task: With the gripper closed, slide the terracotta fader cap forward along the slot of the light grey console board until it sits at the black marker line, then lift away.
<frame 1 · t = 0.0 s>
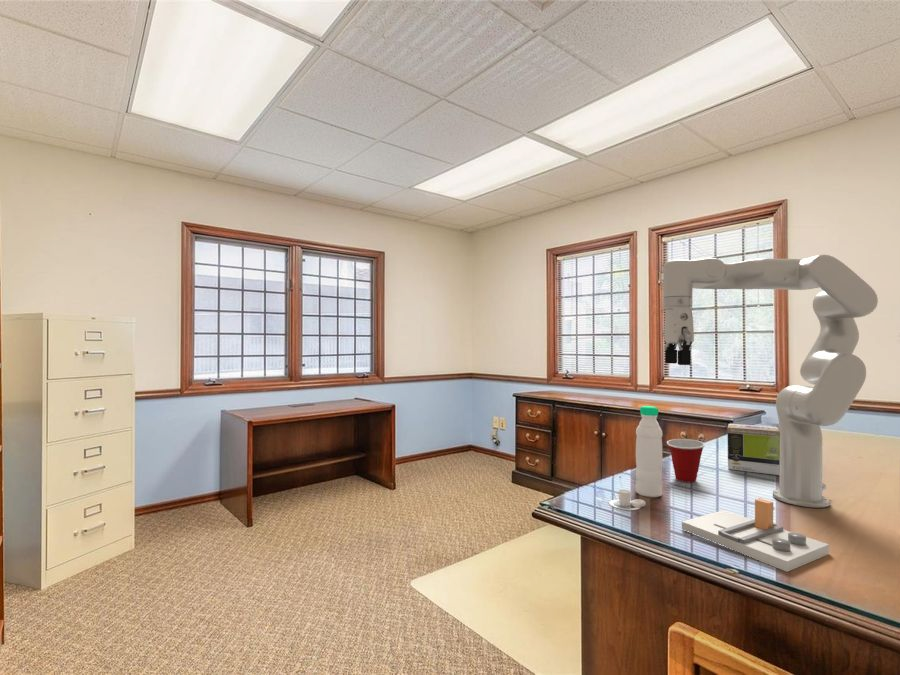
hand: (677, 364, 133), 37 cm above the table, tool pointing down, fingers open, 9 cm apart
plastic cup: (685, 480, 148), on the table
console: (751, 541, 103), on the table
tea box: (753, 470, 161), on the table
fader: (764, 514, 105), point 5 cm above the table, slide at -5.0 cm
water bottle: (648, 494, 134), on the table
teacup and saucer: (631, 511, 122), on the table
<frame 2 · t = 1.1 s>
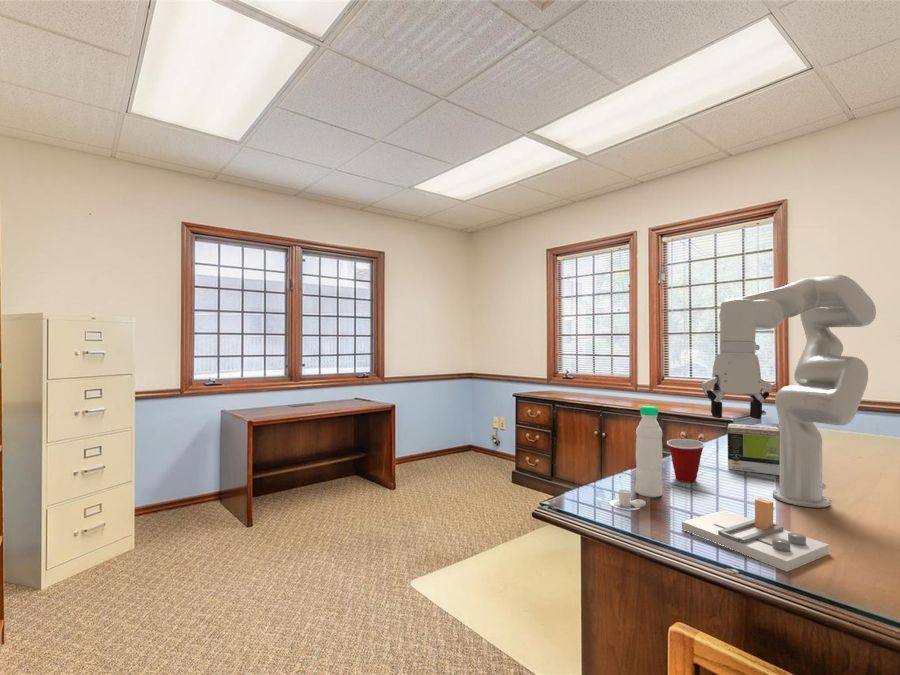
hand: (736, 417, 116), 25 cm above the table, tool pointing down, fingers open, 9 cm apart
nothing on the table moved.
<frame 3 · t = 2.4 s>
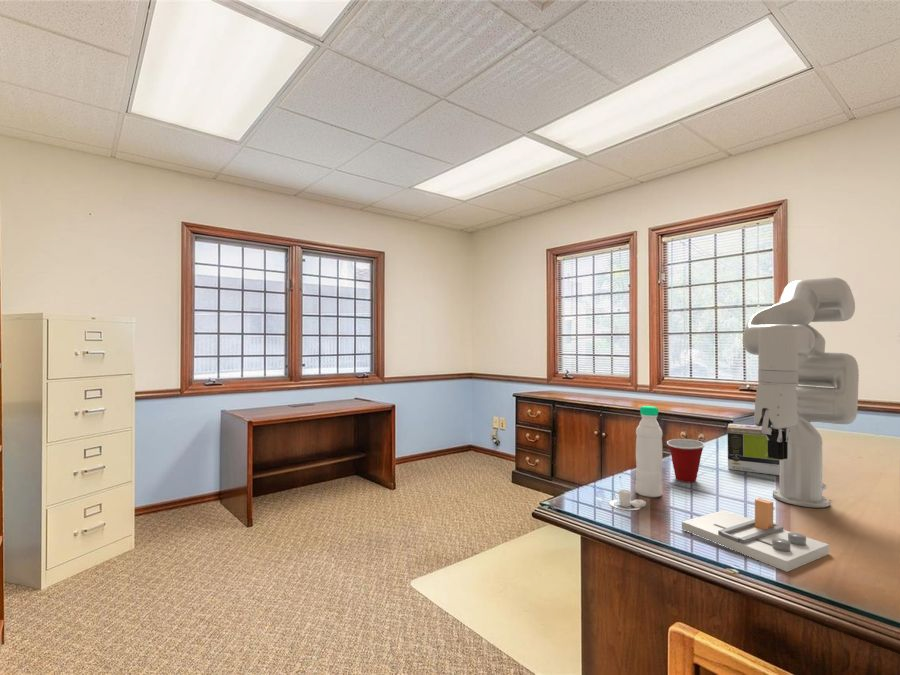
hand: (777, 457, 108), 17 cm above the table, tool pointing down, fingers closed
nothing on the table moved.
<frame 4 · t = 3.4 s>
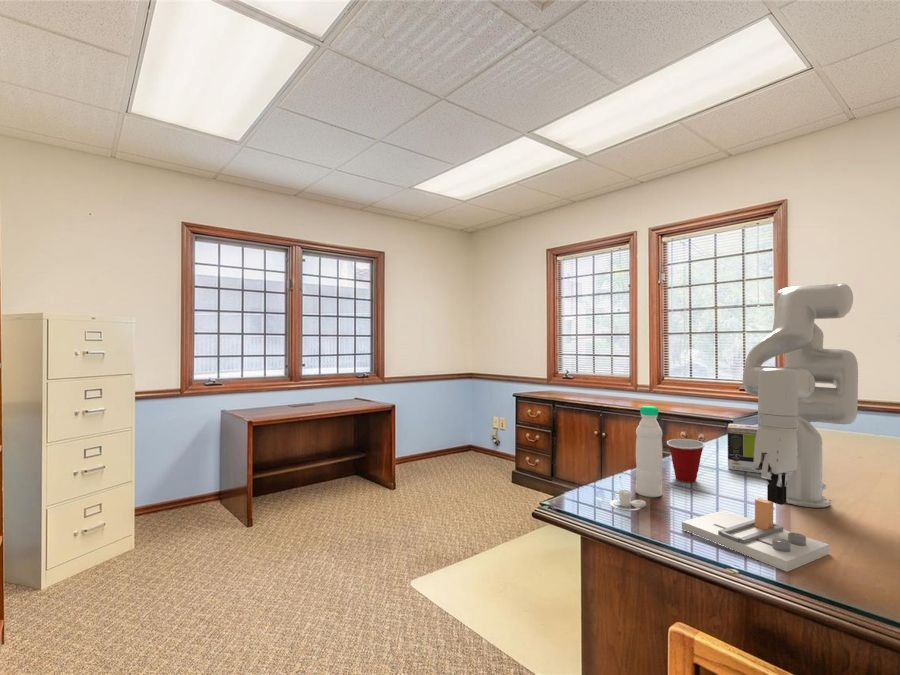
hand: (776, 502, 107), 7 cm above the table, tool pointing down, fingers closed
nothing on the table moved.
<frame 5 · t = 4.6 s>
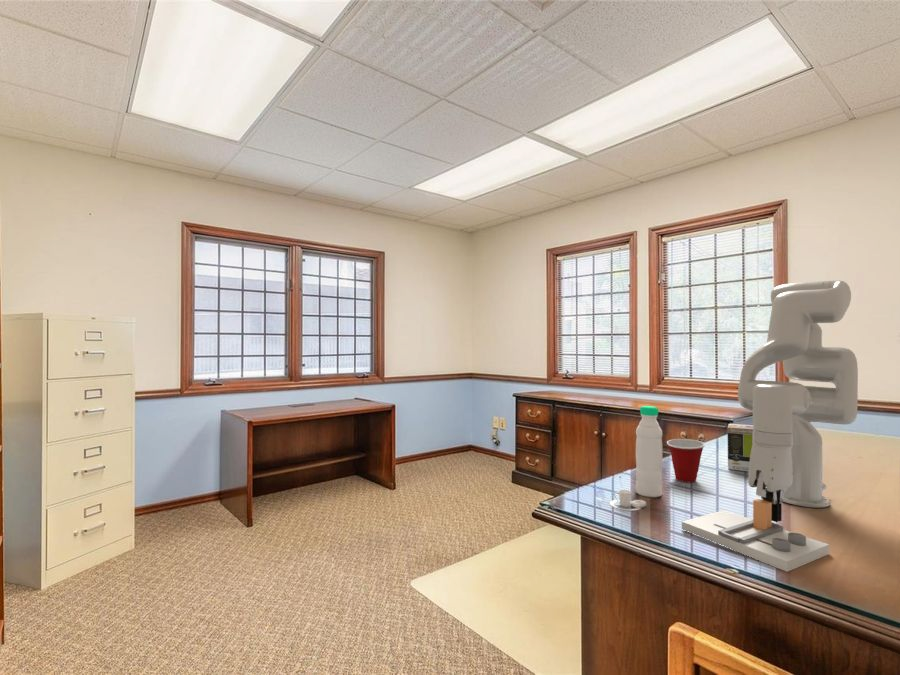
hand: (771, 519, 106), 3 cm above the table, tool pointing down, fingers closed
fader: (762, 514, 105), point 5 cm above the table, slide at -4.3 cm, touching gripper
everything else where it was.
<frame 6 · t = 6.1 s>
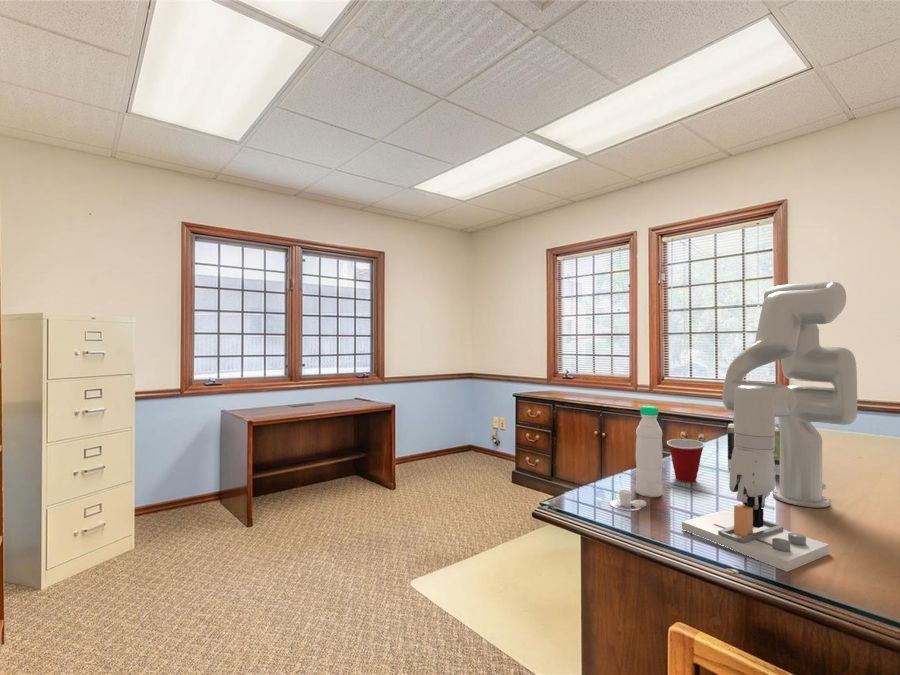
hand: (753, 525, 103), 3 cm above the table, tool pointing down, fingers closed
fader: (743, 520, 101), point 5 cm above the table, slide at 2.9 cm, touching gripper
everything else where it was.
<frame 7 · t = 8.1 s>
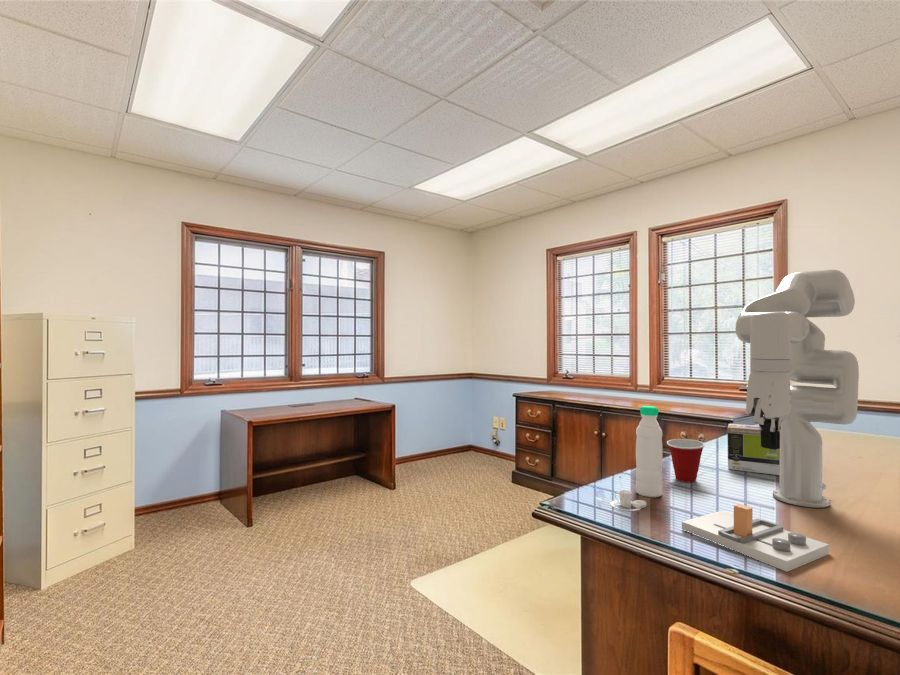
hand: (770, 447, 106), 20 cm above the table, tool pointing down, fingers closed
fader: (743, 520, 101), point 5 cm above the table, slide at 3.1 cm
everything else where it was.
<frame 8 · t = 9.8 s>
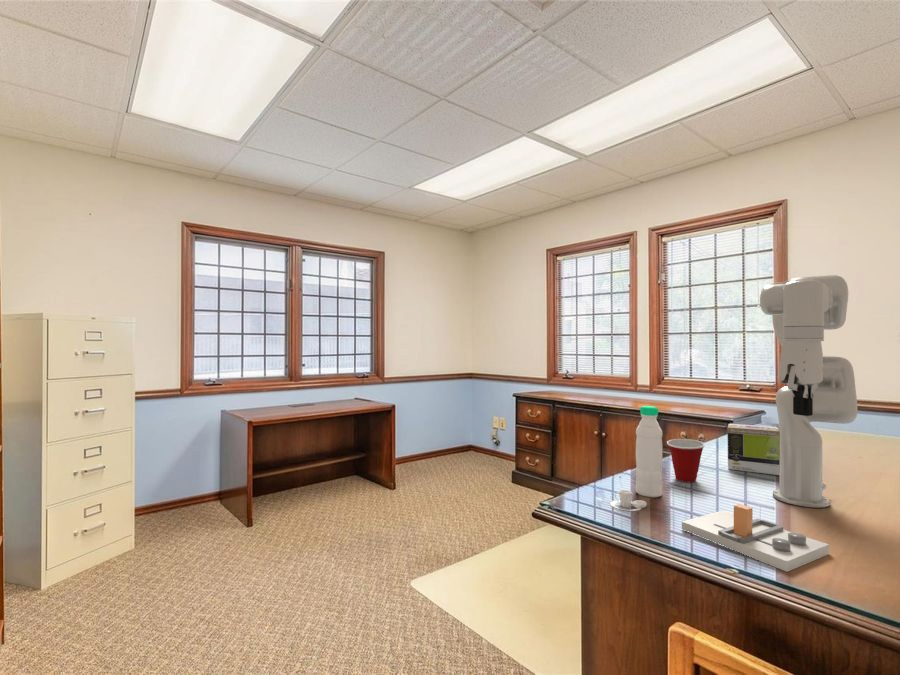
hand: (802, 414, 107), 27 cm above the table, tool pointing down, fingers closed
nothing on the table moved.
at the end: fader slide at 3.1 cm; fader 0.1 cm from the target spot, resting on console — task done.
